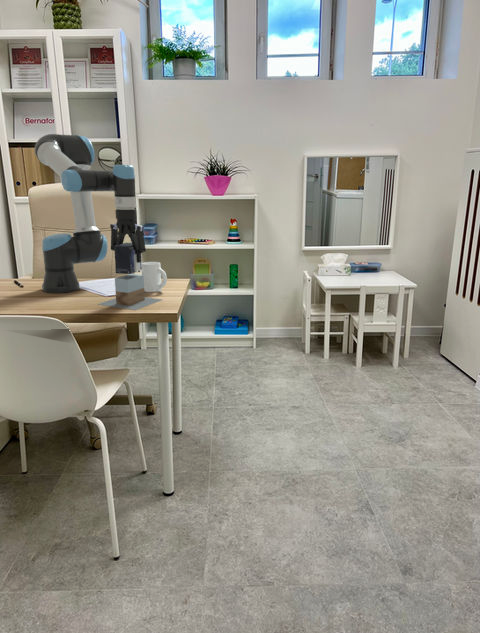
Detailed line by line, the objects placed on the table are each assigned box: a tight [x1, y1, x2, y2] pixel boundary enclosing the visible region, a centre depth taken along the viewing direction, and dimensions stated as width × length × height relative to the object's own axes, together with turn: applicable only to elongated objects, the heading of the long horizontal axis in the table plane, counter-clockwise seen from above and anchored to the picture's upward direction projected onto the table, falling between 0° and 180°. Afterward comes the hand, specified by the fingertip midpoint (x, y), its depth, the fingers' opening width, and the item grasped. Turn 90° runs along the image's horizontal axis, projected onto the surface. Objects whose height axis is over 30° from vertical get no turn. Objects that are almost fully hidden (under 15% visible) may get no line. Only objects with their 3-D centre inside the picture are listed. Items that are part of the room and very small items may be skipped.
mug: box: [141, 261, 168, 293], centre depth 205 cm, size 8×12×12 cm
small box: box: [113, 242, 142, 275], centre depth 182 cm, size 11×6×10 cm, turn 168°
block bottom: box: [115, 288, 146, 306], centre depth 186 cm, size 6×10×5 cm, turn 155°
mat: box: [97, 296, 164, 311], centre depth 187 cm, size 18×18×1 cm
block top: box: [114, 273, 144, 293], centre depth 185 cm, size 6×10×5 cm, turn 155°
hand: (129, 269), depth 183 cm, fingers closed on small box, 7 cm apart
